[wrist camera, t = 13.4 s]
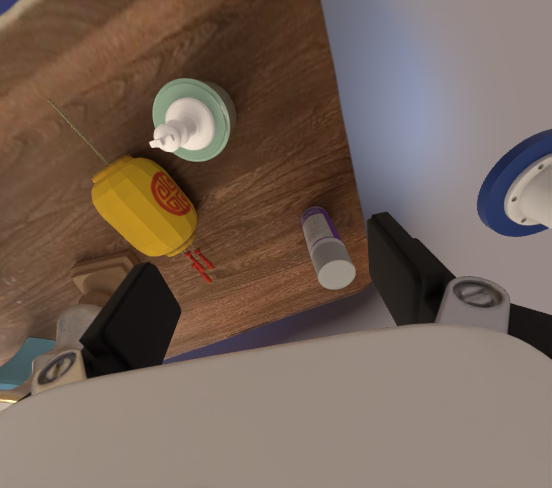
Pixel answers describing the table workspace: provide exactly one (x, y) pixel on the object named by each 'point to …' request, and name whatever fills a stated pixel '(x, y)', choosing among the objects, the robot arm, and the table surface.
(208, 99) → the upturned tumbler
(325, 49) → the table surface
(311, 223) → the container
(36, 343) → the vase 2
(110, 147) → the table surface
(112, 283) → the candle holder
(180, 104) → the chess piece
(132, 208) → the lantern
